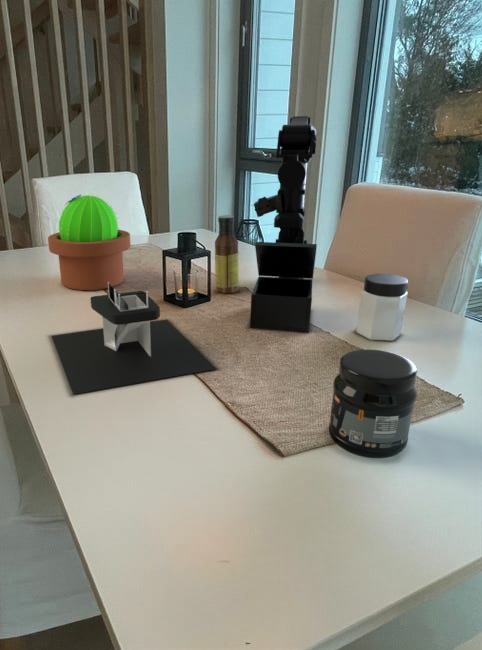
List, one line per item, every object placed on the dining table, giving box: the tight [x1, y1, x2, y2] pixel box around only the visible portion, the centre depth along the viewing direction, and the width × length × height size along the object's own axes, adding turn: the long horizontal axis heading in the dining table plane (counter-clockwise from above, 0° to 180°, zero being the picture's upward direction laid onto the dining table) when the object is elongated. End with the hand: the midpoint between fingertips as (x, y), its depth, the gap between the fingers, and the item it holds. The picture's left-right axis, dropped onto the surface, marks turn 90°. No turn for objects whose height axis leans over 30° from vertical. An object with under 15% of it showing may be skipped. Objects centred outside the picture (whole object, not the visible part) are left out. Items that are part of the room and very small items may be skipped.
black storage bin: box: [249, 275, 314, 334], centre depth 116 cm, size 15×13×8 cm
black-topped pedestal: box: [51, 282, 217, 395], centre depth 99 cm, size 28×26×13 cm
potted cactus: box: [47, 193, 131, 291], centre depth 143 cm, size 22×22×25 cm
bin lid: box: [254, 241, 318, 280], centre depth 113 cm, size 15×13×1 cm
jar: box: [355, 273, 409, 342], centre depth 106 cm, size 9×8×12 cm
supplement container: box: [328, 348, 418, 460], centre depth 70 cm, size 10×10×12 cm
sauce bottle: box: [214, 214, 240, 294], centre depth 134 cm, size 6×6×20 cm
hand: (287, 251), depth 123 cm, fingers closed
